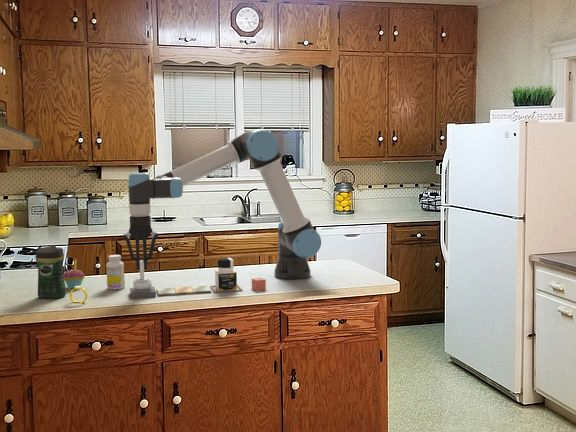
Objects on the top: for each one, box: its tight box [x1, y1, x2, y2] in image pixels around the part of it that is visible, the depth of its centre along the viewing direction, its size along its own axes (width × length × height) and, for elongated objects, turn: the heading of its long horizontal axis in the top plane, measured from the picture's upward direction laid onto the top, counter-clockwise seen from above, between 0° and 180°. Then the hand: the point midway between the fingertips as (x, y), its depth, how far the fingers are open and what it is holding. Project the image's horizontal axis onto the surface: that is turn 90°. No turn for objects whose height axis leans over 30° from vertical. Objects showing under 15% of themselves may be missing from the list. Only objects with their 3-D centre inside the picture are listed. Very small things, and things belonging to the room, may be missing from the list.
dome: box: [132, 277, 153, 290], centre depth 247 cm, size 7×7×3 cm
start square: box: [209, 283, 243, 294], centre depth 256 cm, size 11×11×1 cm
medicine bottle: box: [214, 257, 238, 291], centre depth 256 cm, size 7×7×12 cm
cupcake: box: [63, 259, 86, 289], centre depth 260 cm, size 9×8×12 cm
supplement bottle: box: [105, 254, 126, 291], centre depth 259 cm, size 7×7×13 cm
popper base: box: [129, 286, 157, 300], centre depth 247 cm, size 9×9×2 cm
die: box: [251, 277, 267, 291], centre depth 255 cm, size 4×4×4 cm
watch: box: [69, 285, 89, 304], centre depth 236 cm, size 6×3×6 cm, turn 88°
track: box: [156, 285, 212, 297], centre depth 252 cm, size 20×10×1 cm, turn 105°
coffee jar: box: [35, 246, 67, 300], centre depth 245 cm, size 10×8×19 cm
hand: (142, 278), depth 247 cm, fingers closed
